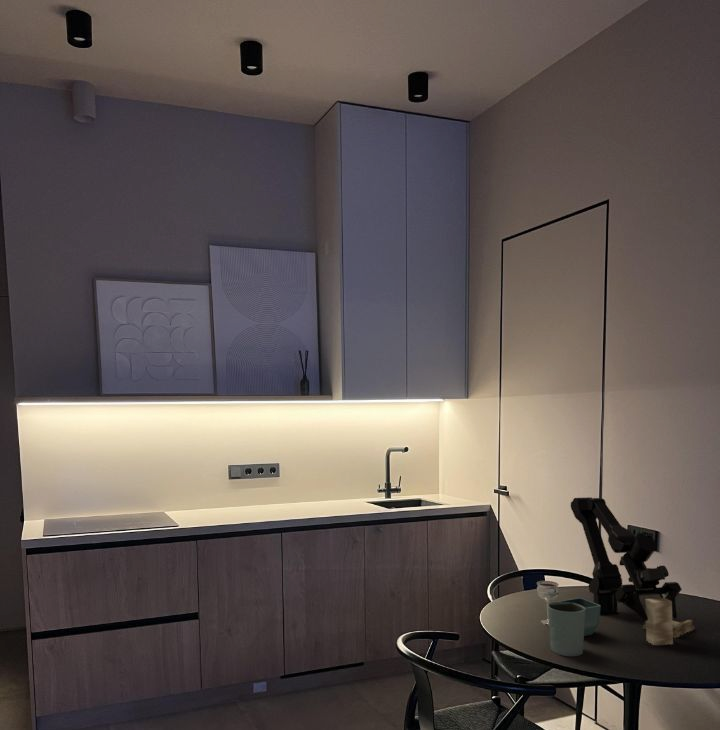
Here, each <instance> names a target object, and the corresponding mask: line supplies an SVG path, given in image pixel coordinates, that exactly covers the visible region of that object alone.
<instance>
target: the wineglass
mask: <svg viewBox="0 0 720 730" xmlns="http://www.w3.org/2000/svg"><path fill="white" fill-rule="evenodd" d="M536 585H537V587H536V593H537V595H538V596H539V597H540V599H542V600H544V601H545V602H546V612H547V613H546V614H547V615H546V616H547V619H543V620H540V621H541V622H542V623H543V624H542V623H541V624H542V625H545V624H548V625H547V626H549V617H548V607H547V605H548V604H549V603H552V601H554V600H555V599H557V598H558V596H559V593H560V589H559V582H556V581H551V580H539V581H537V582H536Z"/></svg>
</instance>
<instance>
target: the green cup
mask: <svg viewBox="0 0 720 730" xmlns="http://www.w3.org/2000/svg"><path fill="white" fill-rule="evenodd" d="M547 607H548V616H547V618H548V617H549V625H548V626H549V627H548V628H549V630H548V631H549V638H550V649H551V651H552V653H554V654H557V655H559V656H564V657H578V656H581V655H583V652H584V638H585V636H584V620H585V610H586V609H585V607H584V606H582V605H579V604H576V603H570V602H559V601H551V602H549V604H548V605H547V604H546V608H547Z"/></svg>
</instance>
